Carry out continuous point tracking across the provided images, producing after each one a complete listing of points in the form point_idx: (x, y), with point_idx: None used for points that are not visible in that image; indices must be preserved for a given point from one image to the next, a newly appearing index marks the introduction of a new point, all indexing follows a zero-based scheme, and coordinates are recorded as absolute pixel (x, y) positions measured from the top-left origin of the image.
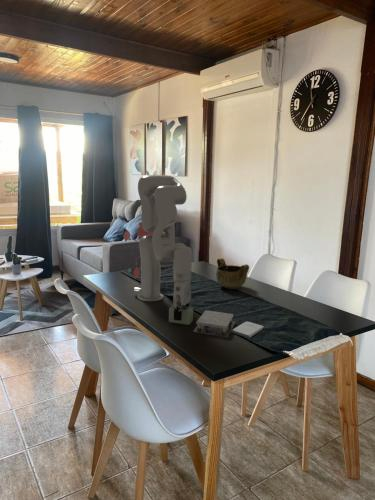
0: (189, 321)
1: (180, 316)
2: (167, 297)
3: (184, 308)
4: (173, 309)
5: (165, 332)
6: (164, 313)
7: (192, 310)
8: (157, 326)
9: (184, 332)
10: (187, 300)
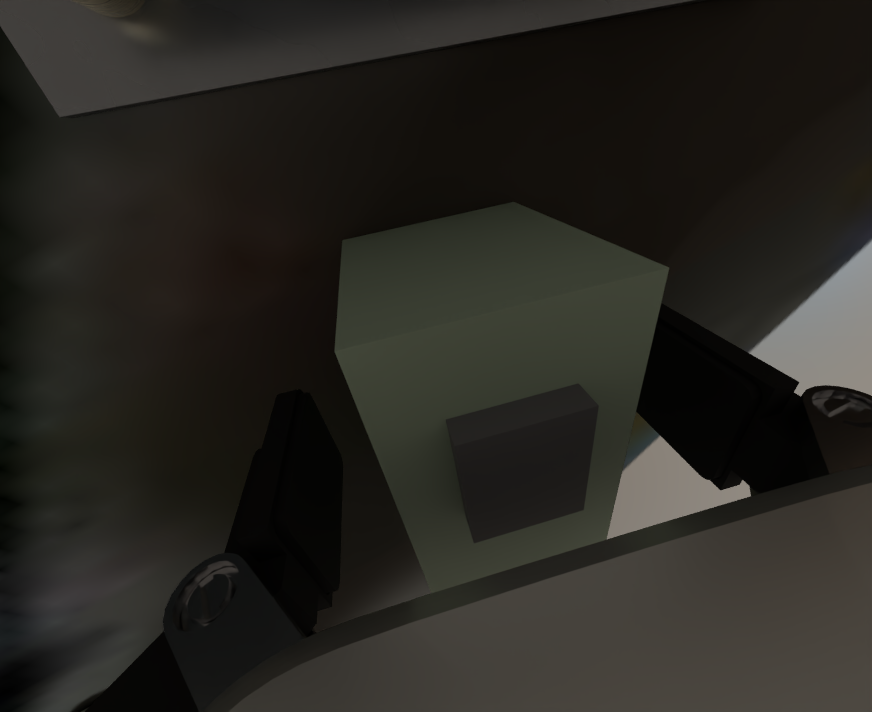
0: (528, 212)
1: (698, 336)
2: (33, 705)
3: (586, 434)
4: (605, 516)
5: (759, 309)
6: (368, 536)
7: (396, 303)
8: (643, 423)
9: (764, 125)
10: (869, 683)
